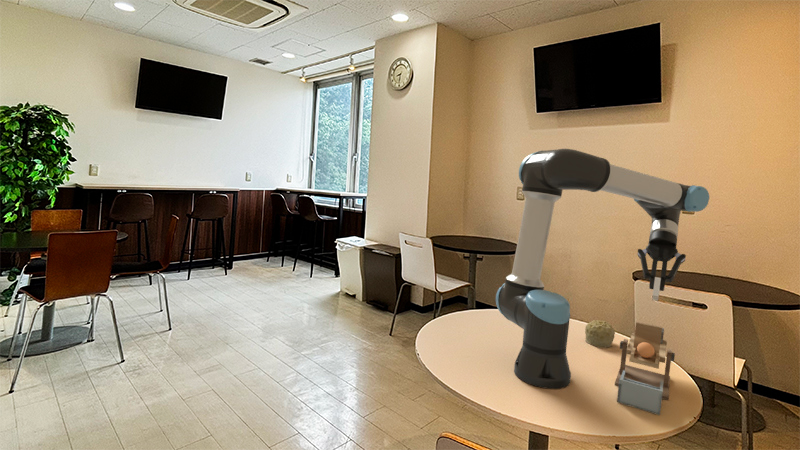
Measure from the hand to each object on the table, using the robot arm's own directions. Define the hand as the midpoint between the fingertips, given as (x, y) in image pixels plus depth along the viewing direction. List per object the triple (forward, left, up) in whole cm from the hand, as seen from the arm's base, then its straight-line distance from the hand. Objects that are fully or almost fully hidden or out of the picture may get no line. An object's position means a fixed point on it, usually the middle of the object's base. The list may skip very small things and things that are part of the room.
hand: (655, 298), depth 118 cm
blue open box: (-20, -7, -23) cm, 31 cm away
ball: (-15, -5, -11) cm, 19 cm away
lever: (-7, -2, -14) cm, 16 cm away
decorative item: (+9, +20, -23) cm, 31 cm away
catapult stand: (-8, -2, -23) cm, 24 cm away
